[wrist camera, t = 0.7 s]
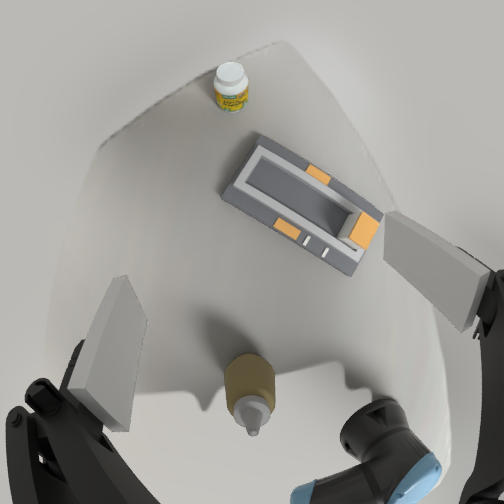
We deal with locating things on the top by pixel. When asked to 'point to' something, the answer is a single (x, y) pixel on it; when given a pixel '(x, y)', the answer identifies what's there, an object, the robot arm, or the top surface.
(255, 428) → the squeeze bottle
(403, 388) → the top surface
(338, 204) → the console board
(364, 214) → the fader tab
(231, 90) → the supplement bottle
